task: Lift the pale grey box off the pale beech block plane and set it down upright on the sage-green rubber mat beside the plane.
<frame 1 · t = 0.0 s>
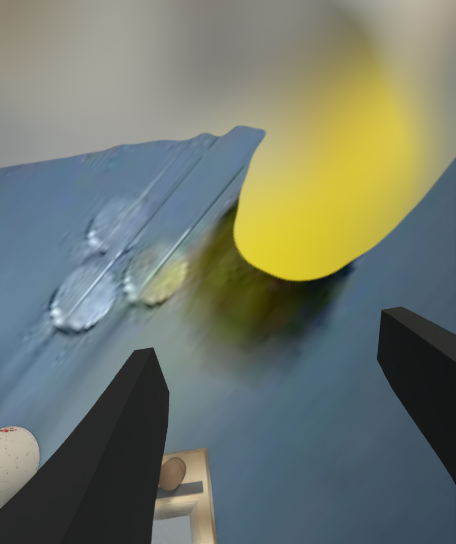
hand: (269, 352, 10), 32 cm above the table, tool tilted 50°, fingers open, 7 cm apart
pale grey box: (180, 542, 32), point 2 cm above the table, touching block plane
block plane: (184, 521, 35), on the table
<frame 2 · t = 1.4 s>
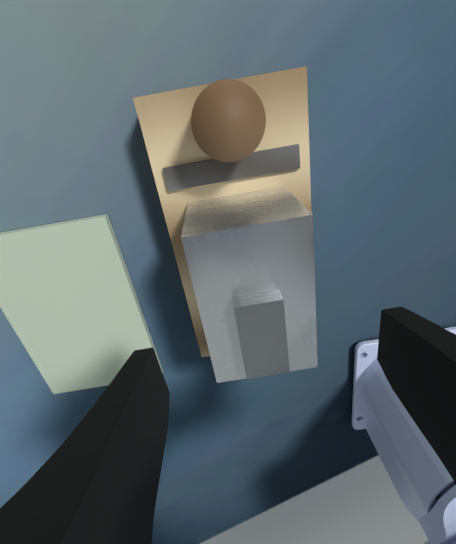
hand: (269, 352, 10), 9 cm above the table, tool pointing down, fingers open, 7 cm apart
mat: (78, 314, 20), on the table
pale grey box: (245, 260, 16), point 2 cm above the table, touching block plane
block plane: (238, 226, 18), on the table
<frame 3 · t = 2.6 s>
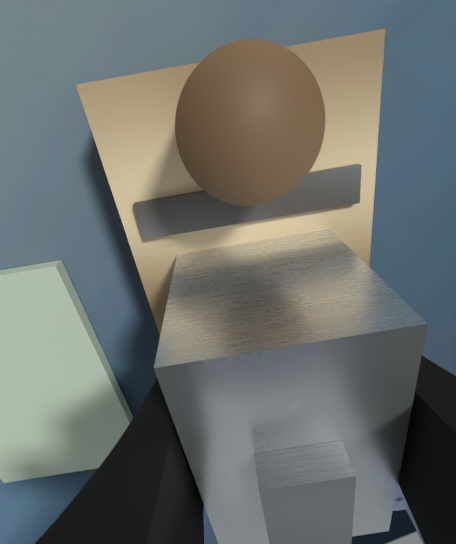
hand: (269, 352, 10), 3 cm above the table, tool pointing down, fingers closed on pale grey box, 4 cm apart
mat: (30, 387, 14), on the table
pale grey box: (264, 334, 11), point 2 cm above the table, touching block plane, gripper
block plane: (251, 275, 12), on the table
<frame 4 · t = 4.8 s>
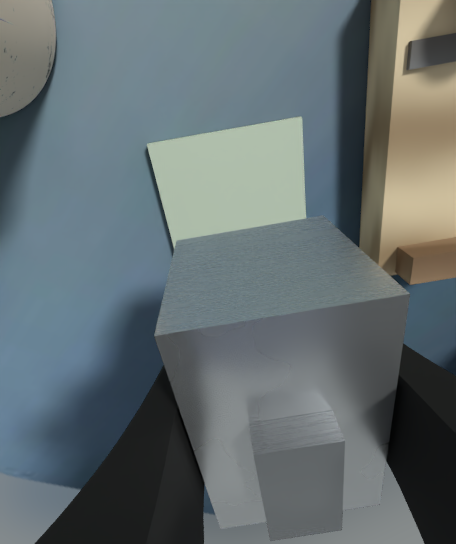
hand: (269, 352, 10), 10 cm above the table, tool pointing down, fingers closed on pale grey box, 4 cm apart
mat: (239, 236, 19), on the table
pale grey box: (261, 320, 11), point 9 cm above the table, touching gripper
block plane: (428, 134, 17), on the table
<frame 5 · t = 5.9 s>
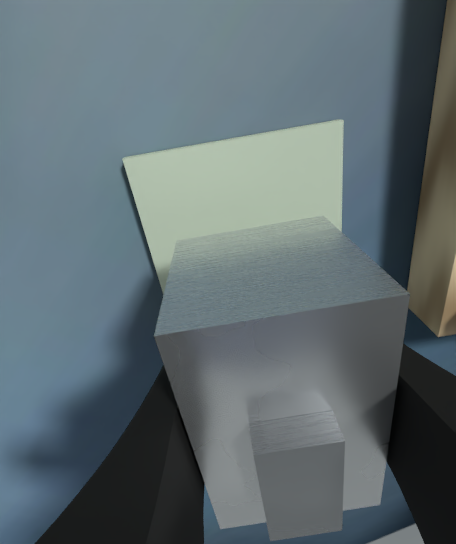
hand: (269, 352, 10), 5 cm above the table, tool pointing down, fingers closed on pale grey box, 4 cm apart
mat: (250, 277, 14), on the table
pale grey box: (261, 320, 11), point 4 cm above the table, touching gripper
when the fingers open (3 cm above the table, at t = 6.9 s): pale grey box stays where it is, resting on mat.
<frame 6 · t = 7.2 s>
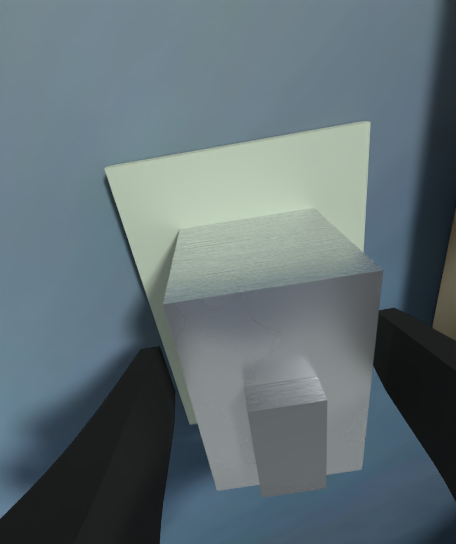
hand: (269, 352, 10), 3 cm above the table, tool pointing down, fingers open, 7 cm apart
mat: (256, 302, 12), on the table
pale grey box: (257, 305, 12), resting on mat
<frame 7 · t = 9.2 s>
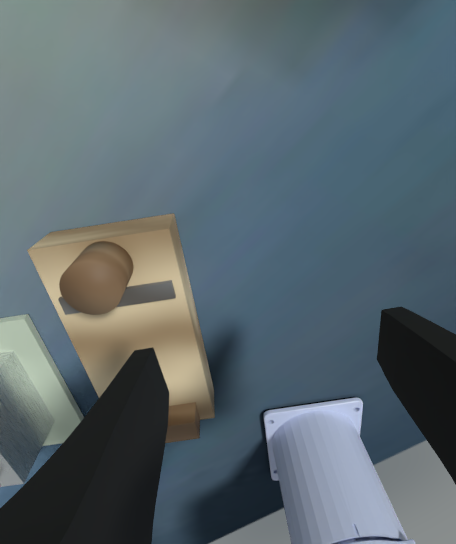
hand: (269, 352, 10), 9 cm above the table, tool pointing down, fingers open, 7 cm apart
mat: (10, 389, 22), on the table
pale grey box: (4, 392, 22), resting on mat
block plane: (145, 323, 20), on the table
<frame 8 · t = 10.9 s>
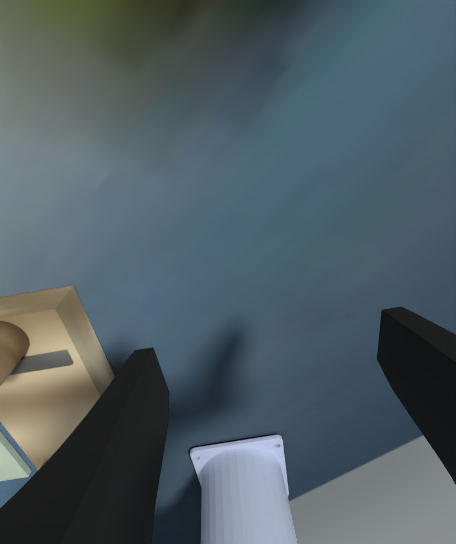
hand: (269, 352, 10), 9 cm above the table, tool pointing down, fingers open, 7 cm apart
block plane: (63, 376, 22), on the table
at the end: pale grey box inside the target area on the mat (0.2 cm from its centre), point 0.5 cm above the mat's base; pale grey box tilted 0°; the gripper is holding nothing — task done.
